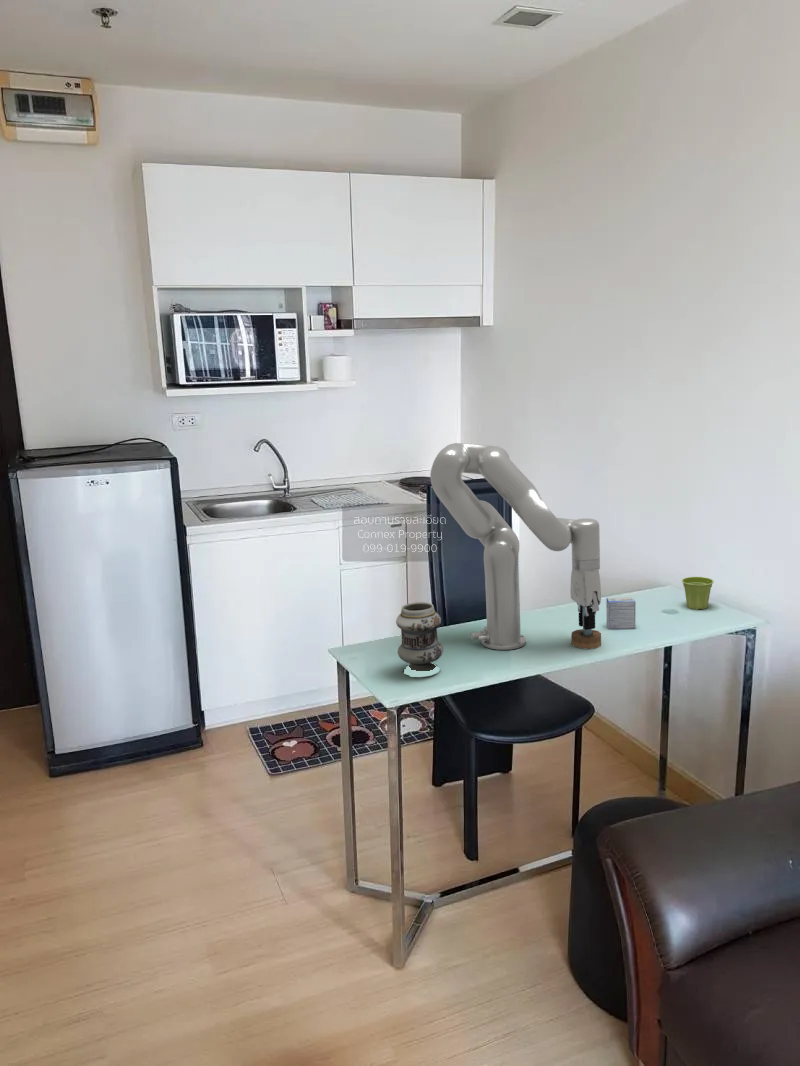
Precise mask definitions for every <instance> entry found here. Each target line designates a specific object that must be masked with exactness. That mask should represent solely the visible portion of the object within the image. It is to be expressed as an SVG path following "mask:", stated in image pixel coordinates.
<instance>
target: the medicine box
mask: <svg viewBox="0 0 800 1066" xmlns="http://www.w3.org/2000/svg"><path fill="white" fill-rule="evenodd" d="M605 602H606V626H607V629H608V630H625V629H636V613H637V612H636V611H637V610H636V609H637V607H636V603H637V601H636V600H635V598H634V597H633V596H620V597H619V596H618V597H617V596H615V597H606V601H605Z"/></svg>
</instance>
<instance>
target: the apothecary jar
mask: <svg viewBox="0 0 800 1066" xmlns="http://www.w3.org/2000/svg"><path fill="white" fill-rule="evenodd" d="M400 610H401V611H400V614H398V615H397V617H396V619H395V625H396V626H397V627H398V628H399V629H400V631H401V644H400V645H398V646H399V647H398V648H397V655H398V657H399V659H400V660H401V661H403V662H404V663H407V664H409V667H410V668H411V670H416V671H430V670H433V669H434V668H435V667H436V666H435V665H434V664H435V663H433V662H435V661H438V659H439V658H441V656H443V653H444V647H443V645H442V643H441V642H440V641H439V637H438V630H437V629H438V627H439V626H440V625H441V623H442V622H441V621H442V616H441V615H440V613H438V612H437V611H436V610H435V607H434V604H432V603H430V602H426V601H425V602H424V601H419V602H418V601H417V602H410V603H406V604H404V605H402V606H401V609H400ZM432 663H433V664H432Z"/></svg>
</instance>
